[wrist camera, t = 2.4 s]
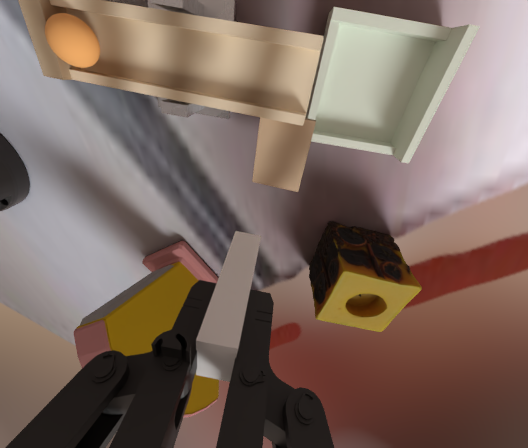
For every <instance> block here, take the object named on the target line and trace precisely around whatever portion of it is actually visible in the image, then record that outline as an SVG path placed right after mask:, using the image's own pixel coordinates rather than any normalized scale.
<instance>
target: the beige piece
mask: <svg viewBox="0 0 528 448" xmlns="http://www.w3.org/2000/svg"><path fill="white" fill-rule="evenodd" d="M18 1H19V4H20V7H21V10H22V13H23V16H24V19H25V22H26V25H27V28H28V30H29V33H30V36H31V39H32V42H33V45H34V48H35V51H36V54H37V57H38V60H39V63H40V66H41V69H42V72H43V75H44V76H47V77H52V78H57V79H62V80H71V79H72V80H77V81H82V82H87V83H92V84H97V85H102V86H107V87H112V88H117V89H122V90H127V91H132V92H137V93H142V94H147V95H152V96H157V97H162V98H167V99H172V100H177V101H182V102H187V103H192V104H196V105H201V106H206V107H211V108H216V109H221V110H226V111H231V112H236V113H241V114H246V115H251V116H256V117H260V124H259V132H258V140H257V148H256V156H255V164H254V172H253V180H252V182H256V183H260V184H265V185H269V186H273V187H278V188H282V189H286V190H291V191H295V192H298V190H299V187H300V183H301V179H302V175H303V171H304V167H305V163H306V159H307V155H308V151H309V147H310V143H311V139H312V135H313V132H314V128H315V124H316V120H313V119H308V118H306V113H307V109H308V105H309V100H310V96H311V91H312V87H313V83H314V78H315V74H316V69H317V65H318V61H319V56H320V52H321V48H322V43H323V36H320V35H314V34H308V33H302V32H296V31H290V30H283V29H277V28H271V27H265V26H259V25H252V24H246V23H240V22H234V21H228V20H222V19H215V18H209V17H203V16H197V15H191V14H185V13H178V12H172V11H166V10H160V9H154V8H148V7H141V6H135V5H129V4H123V3H117V2H111V1H104V0H18ZM58 13H67V14H70V15H73V16H75V17H77V18H79V19H81V20H82V21H83V22H85V23H86V24H87V25H88V26H89V27H90V28H91V29H92V31H93V32H94V33H95V35H96V37H97V39H98V41H99V45H100V57H99V59H98V61H97V62H96V63H95V64H94V65H93V66H90V67H86V68H80V67H75V66H72V65H70V64H68V63H66V62H65V61H63V60H62V59H60V58H59V57H58V56H57V55H56V54H55V53H54V52H53V50H52V49H51V47H50V46H49V44H48V42H47V39H46V36H45V24H46V22H47V20H48V18H49V17H51V16H52V15H54V14H58Z"/></svg>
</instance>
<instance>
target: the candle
mask: <svg viewBox="0 0 528 448" xmlns="http://www.w3.org/2000/svg"><path fill="white" fill-rule="evenodd" d="M309 270H310V274H309V278H310V281H311V287H312V291H313V299H314V306H315V316H316V319H318V320H321V321H327V322H332V323H336V324H343V325H348V326H353V327H358V328H362V329H367V330H373V331H377V332H381V331H383V330H384V329H385V328H386V327H387V326H388V324H389V323H390V322H391V321H392V320H393V318H395V316H396V315H397V314H398V313H399V312H400V311H401V310H402V309H403V308H404V307H405V305H406V304H407V303H408V302H409V301H410V300H411V299H412V298H413V297H414V296H415V295H416V294H417V293H418V292H420V291H421V290H422V287H421V286H420V284H419V283H418V282H417V280H416V279H415V277H414V276H413V275H412V273H411V271H410V268H409V266H408V265H407V264H406V262H405V261H404V259H403V257H402V254H401V252H400V249H399V247H398V246H397V244H396V243H394V238H393V237H391V236H390V235H386V234H382V233H377V232H375V231H371V230H366V229H363V228H356V227H355V226H354V227H351V228H348V227H346V226H343V225H340V224H339V223H335V222H331V221H330V222H329V223H328V226H327V228H326V229H325V232H324V234H323V235H322V239H321V240H320V242H319V245H318V248H317V249H316V252H315V255H314V258H313V261H312V262H311V263H310V267H309Z"/></svg>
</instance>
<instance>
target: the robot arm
mask: <svg viewBox="0 0 528 448" xmlns="http://www.w3.org/2000/svg"><path fill="white" fill-rule="evenodd" d="M29 188H30V182H29V177H28V174H27V171H26V168H25V166H24V164H23V162H22V161H21V159H20V157H19V156H18V154H17V153H16V152H15V150H14V149H13V148H12V147H11V145H10V144H9V143H8V142H7V141H6V140H5V139H4V138H3V137H2V136H1V135H0V211H3V210H6V209H8V208H10V207H12V206H14V205H16V204H18V203H20V202H22V201H23V200H24V199H25V198H26V197H27V195H28V193H29ZM260 239H261V236H258V235H253V234H248V233H243V232H238V231H236V232H235V234H234V237H233V240H232V243H231V245H230V248H229V251H228V254H227V256H226V259H225V262H224V265H223V268H222V270H221V273H220V276H219V279H218V281H217V283H213V282H208V281H203V280H199V281H198V282H196V283H195V284H194V285H193V286H192V287H191V289H190V291H189V293H188V295H187V298H186V300H185V302H184V304H183V307H182V308H181V310H180V312H179V314H178V316H177V319H176V321H175V323H174V325H173V327H172V329H171V330H169V331H166V332H163V333H162V334H160V335H159V336H157V337H156V338H155V340H154V341H153V342H152V344H151V345H152V350H153V351H151V352H148V353H144V354H137V355H130V356H125V355H124V354H122V353H121V352H119V351H115V350H112V351H105V352H103V353H101V354H99V355H97V356H95V357H94V358H93V359H92V360H90V361H89V362H88V363H87V364H86V365H85V366H84V367H83V368H82V369H81V371H79V372H78V373H77V375H76V376H75V377H74V378H73V379H72V380H71V381H70V382H69V383H68V384H67V385H66V386H65V387H64V388H63V389H62V390H61V391H60V392H59V393H58V394H57V395H56V396H55V397H54V398H53V399H52V400H51V401H50V402H49V404H47V405H46V407H44V408H43V410H42V411H41V412H40V413H39V414H38V415H37V416H36V417H35V418H34V419H33V420H32V421H31V422H30V423H29V424H28V425H27V426H26V427H25V428H24V429H23V430H22V431H21V432H20V433H19V434H18V435H17V436H16V437H15V438H14V439H13V441H11V442H10V443H9V445H8V446H7V447H6V448H106V446H107V445H108V443H109V442H110V440H111V439H112V438H113V436H114V435H115V433H116V432H117V433H116V435H115V437H114V439H113V441H112V443H111V445H110V447H109V448H174V445H175V441H176V438H177V435H178V432H179V429H180V425H181V422H182V419H183V416H184V413H185V410H186V407H187V404H188V401H189V397H190V394H191V389H192V382H193V379H194V376H195V373H196V375H199V376H203V377H208V378H213V379H218V380H223V381H229V382H230V384H229V389H228V394H227V399H226V403H225V409H224V414H223V418H222V422H221V428H220V432H219V437H218V442H217V446H216V448H262V445H263V436H265V437H266V438H267V439H269V440H270V441H272V446H273V448H334V445H333V442H332V438H331V434H330V431H329V427H328V424H327V420H326V415H325V412H324V408H323V406H322V403H321V401H320V399H319V398H318V397H317V396H316V395H315V393H314V392H312V391H310V390H309V389H306V388H297V389H294V388H292V387H291V386H289V385H288V384H286V383H284V382H283V381H281V380H280V379H279V378H277V377H276V375H275V374H274V373H273V371H272V369H271V367H270V364H269V347H270V336H271V324H272V314H273V300H272V297H271V294H270V293H265V292H260V291H255V290H250V289H251V284H252V279H253V274H254V269H255V264H256V259H257V254H258V249H259V244H260ZM117 430H118V431H117Z"/></svg>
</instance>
